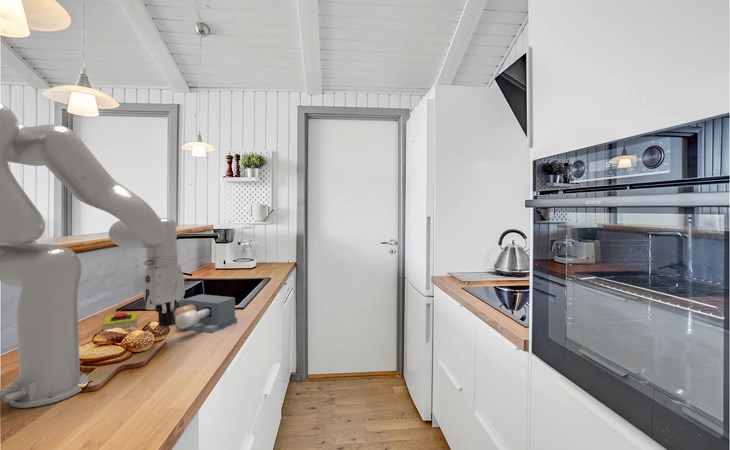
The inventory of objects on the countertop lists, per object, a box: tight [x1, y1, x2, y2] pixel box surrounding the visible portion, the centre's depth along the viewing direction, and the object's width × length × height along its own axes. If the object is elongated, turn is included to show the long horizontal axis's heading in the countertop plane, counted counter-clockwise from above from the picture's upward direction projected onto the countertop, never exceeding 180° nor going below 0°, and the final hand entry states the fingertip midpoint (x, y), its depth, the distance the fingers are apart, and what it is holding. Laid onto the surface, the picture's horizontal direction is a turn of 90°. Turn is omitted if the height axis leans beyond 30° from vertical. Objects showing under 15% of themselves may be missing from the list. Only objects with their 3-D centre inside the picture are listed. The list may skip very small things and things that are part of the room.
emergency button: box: [102, 311, 139, 331], centre depth 117 cm, size 9×4×15 cm
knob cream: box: [175, 308, 211, 330], centre depth 109 cm, size 12×4×4 cm, turn 161°
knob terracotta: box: [174, 304, 197, 319], centre depth 116 cm, size 12×4×4 cm, turn 161°
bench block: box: [175, 293, 238, 334], centre depth 117 cm, size 12×15×9 cm
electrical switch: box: [160, 299, 183, 325], centre depth 121 cm, size 9×5×9 cm, turn 57°
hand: (165, 325), depth 99 cm, fingers closed
